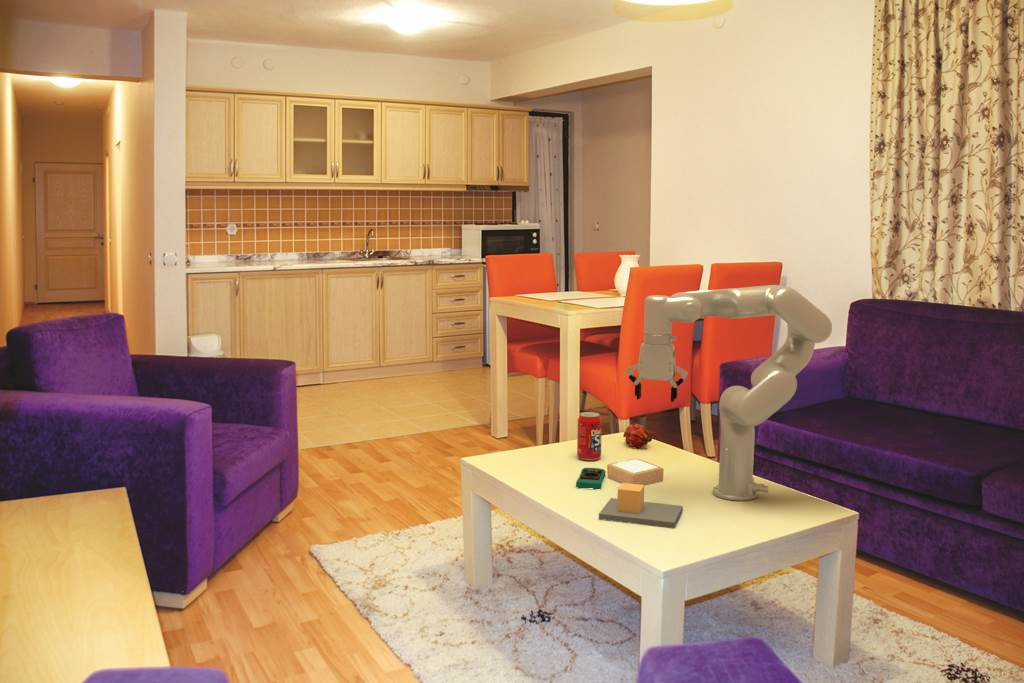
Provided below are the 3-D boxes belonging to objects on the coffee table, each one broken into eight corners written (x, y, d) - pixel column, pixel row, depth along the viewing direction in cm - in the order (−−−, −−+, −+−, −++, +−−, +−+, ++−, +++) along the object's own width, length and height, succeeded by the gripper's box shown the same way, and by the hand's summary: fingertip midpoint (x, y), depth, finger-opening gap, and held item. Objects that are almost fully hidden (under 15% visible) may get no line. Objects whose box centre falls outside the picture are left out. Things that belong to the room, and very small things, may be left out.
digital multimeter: (605, 476, 280) (605, 467, 279) (600, 491, 265) (600, 481, 265) (582, 475, 281) (582, 466, 281) (575, 489, 267) (575, 480, 267)
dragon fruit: (629, 445, 321) (646, 459, 310) (613, 434, 317) (629, 447, 306) (643, 426, 321) (660, 439, 310) (627, 414, 317) (644, 427, 306)
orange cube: (643, 506, 246) (644, 485, 246) (639, 513, 241) (640, 491, 240) (622, 503, 248) (622, 482, 248) (617, 510, 243) (617, 489, 242)
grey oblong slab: (682, 511, 247) (682, 505, 247) (674, 528, 234) (674, 522, 234) (610, 503, 254) (610, 497, 253) (598, 519, 241) (598, 513, 240)
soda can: (575, 455, 302) (575, 411, 300) (598, 455, 303) (599, 411, 301) (579, 462, 294) (580, 417, 292) (603, 461, 295) (604, 416, 293)
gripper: (690, 339, 254) (688, 399, 256) (629, 336, 259) (628, 395, 262) (686, 343, 247) (684, 404, 249) (624, 339, 252) (622, 400, 255)
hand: (655, 399), depth 256 cm, fingers open, 9 cm apart
